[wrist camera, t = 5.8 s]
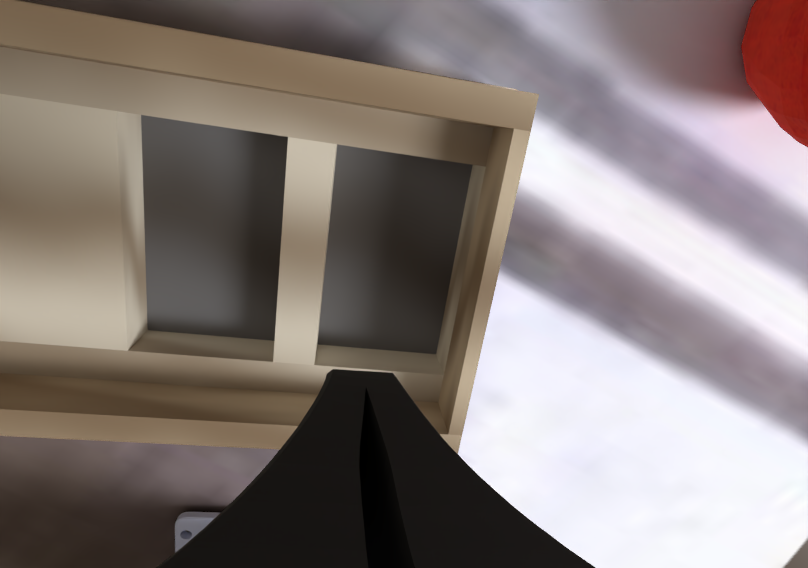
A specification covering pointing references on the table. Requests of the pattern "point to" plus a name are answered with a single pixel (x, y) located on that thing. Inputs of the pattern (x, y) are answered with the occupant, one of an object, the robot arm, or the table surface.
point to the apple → (779, 62)
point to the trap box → (236, 230)
